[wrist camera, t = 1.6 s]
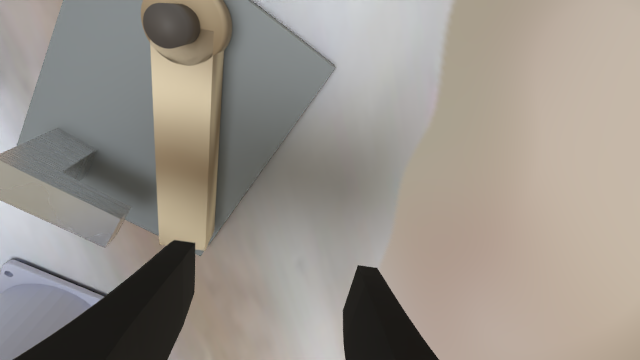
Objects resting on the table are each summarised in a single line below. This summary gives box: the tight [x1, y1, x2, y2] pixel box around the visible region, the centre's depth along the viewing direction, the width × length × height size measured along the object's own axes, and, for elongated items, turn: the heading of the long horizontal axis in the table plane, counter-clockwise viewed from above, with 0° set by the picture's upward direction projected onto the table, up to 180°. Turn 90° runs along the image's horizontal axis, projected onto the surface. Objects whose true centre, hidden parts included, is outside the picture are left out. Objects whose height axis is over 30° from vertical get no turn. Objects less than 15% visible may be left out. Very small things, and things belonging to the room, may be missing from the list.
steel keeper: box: [0, 127, 131, 247], centre depth 16 cm, size 2×5×4 cm, turn 53°
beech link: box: [141, 0, 232, 251], centre depth 14 cm, size 12×3×3 cm, turn 169°
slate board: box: [17, 0, 335, 256], centre depth 17 cm, size 14×11×1 cm
